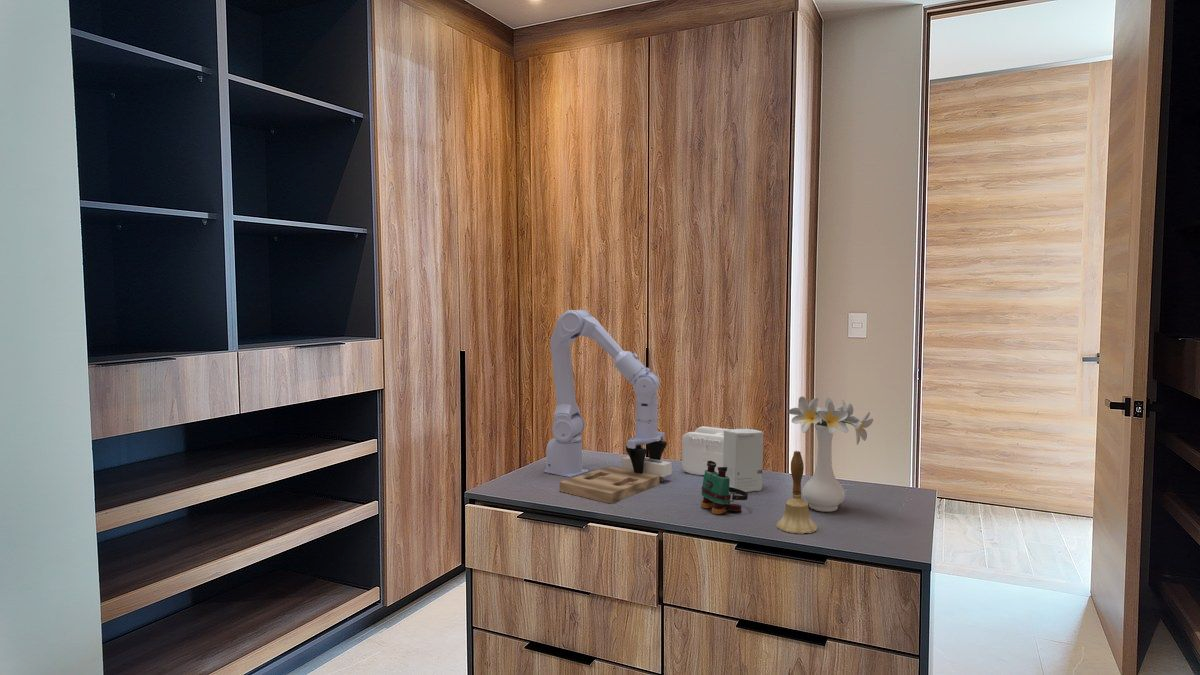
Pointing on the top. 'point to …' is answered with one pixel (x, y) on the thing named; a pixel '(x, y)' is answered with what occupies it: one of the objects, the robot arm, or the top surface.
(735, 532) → the top surface
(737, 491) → the binoculars
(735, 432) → the skincare box
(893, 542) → the top surface
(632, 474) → the keyhole board
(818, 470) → the flower vase
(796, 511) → the hand bell
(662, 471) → the white rectangular block
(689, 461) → the white rounded box
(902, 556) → the top surface
